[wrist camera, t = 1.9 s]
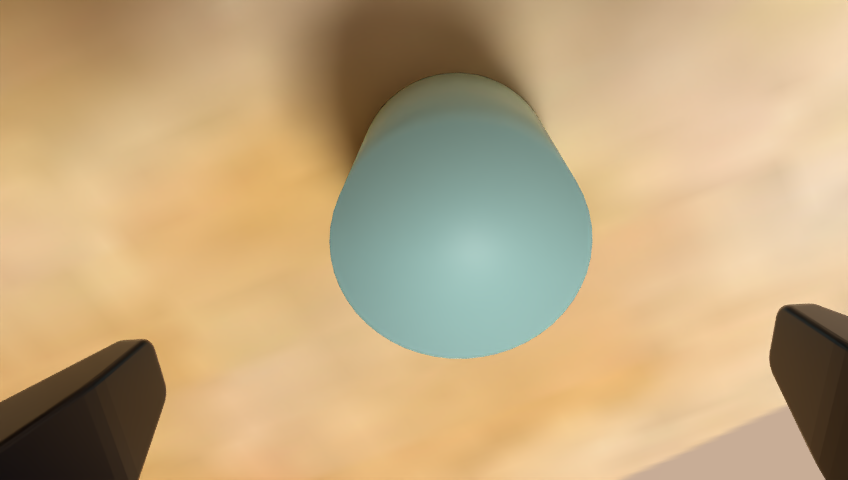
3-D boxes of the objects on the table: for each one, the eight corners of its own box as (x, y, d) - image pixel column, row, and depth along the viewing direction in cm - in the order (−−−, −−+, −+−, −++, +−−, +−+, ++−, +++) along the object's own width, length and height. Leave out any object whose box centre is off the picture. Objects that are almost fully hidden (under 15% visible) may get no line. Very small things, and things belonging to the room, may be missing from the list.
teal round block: (549, 248, 17) (587, 352, 13) (372, 259, 18) (347, 364, 13) (550, 65, 15) (596, 110, 11) (349, 80, 16) (311, 130, 11)
